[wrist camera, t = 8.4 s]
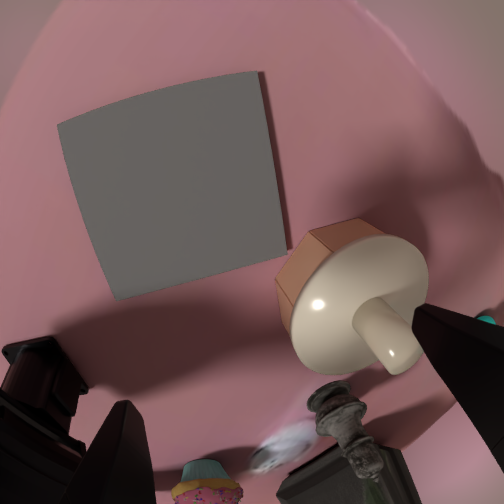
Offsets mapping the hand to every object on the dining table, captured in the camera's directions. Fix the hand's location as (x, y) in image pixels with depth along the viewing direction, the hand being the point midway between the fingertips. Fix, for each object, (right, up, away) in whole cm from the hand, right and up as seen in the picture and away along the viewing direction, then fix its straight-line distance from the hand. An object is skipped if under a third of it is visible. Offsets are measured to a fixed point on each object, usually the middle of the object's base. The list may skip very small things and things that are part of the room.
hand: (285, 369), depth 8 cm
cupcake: (-7, -24, +23) cm, 34 cm away
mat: (-5, +7, +10) cm, 13 cm away
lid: (+7, -1, +12) cm, 14 cm away
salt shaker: (+7, -13, +22) cm, 26 cm away
